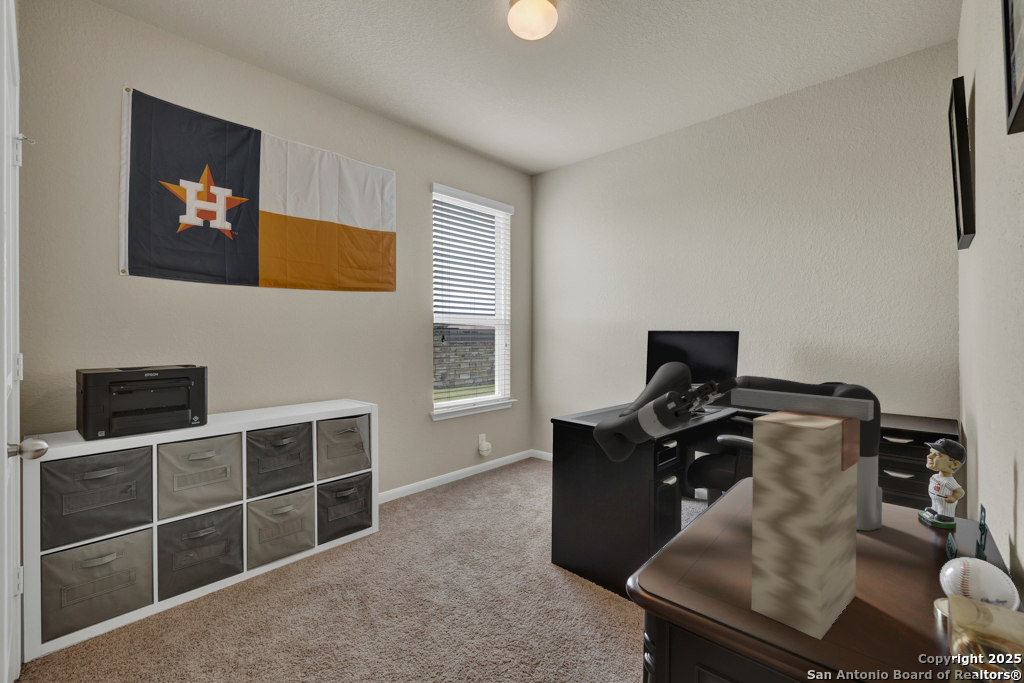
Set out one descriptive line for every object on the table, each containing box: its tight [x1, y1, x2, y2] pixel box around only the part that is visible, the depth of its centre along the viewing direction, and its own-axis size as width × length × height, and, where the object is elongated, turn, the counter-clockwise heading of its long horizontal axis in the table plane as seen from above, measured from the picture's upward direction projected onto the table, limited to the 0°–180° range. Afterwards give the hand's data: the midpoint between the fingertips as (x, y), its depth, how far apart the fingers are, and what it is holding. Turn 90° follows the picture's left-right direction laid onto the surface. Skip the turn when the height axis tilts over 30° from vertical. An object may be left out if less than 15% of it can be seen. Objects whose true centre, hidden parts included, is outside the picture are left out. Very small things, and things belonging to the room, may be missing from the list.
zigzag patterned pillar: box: [751, 411, 860, 641], centre depth 79 cm, size 10×18×32 cm, turn 130°
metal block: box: [731, 388, 874, 421], centre depth 84 cm, size 22×3×3 cm, turn 40°
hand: (725, 383), depth 93 cm, fingers open, 8 cm apart
